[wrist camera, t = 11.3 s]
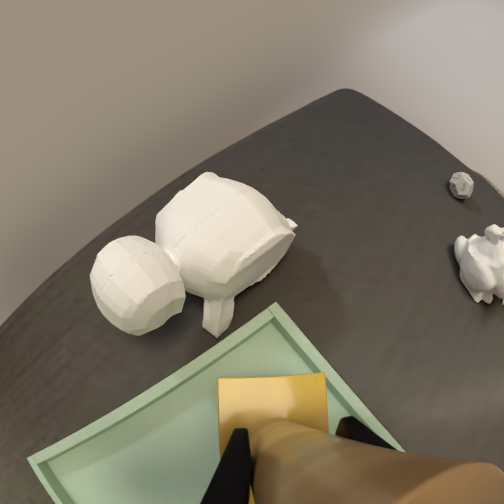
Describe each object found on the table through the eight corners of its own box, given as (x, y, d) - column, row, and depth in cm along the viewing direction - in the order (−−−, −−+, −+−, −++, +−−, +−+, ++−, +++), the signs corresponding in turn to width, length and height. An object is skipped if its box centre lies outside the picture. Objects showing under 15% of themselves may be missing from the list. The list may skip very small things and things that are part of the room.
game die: (451, 178, 31) (462, 164, 29) (468, 198, 30) (480, 185, 27) (441, 185, 30) (453, 171, 28) (460, 207, 29) (472, 193, 26)
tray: (159, 590, 8) (155, 601, 6) (40, 455, 13) (26, 457, 11) (393, 450, 16) (407, 453, 14) (271, 309, 21) (276, 301, 20)
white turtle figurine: (214, 225, 28) (77, 300, 18) (240, 149, 22) (57, 208, 12) (281, 281, 26) (150, 394, 15) (327, 209, 20) (154, 337, 10)
